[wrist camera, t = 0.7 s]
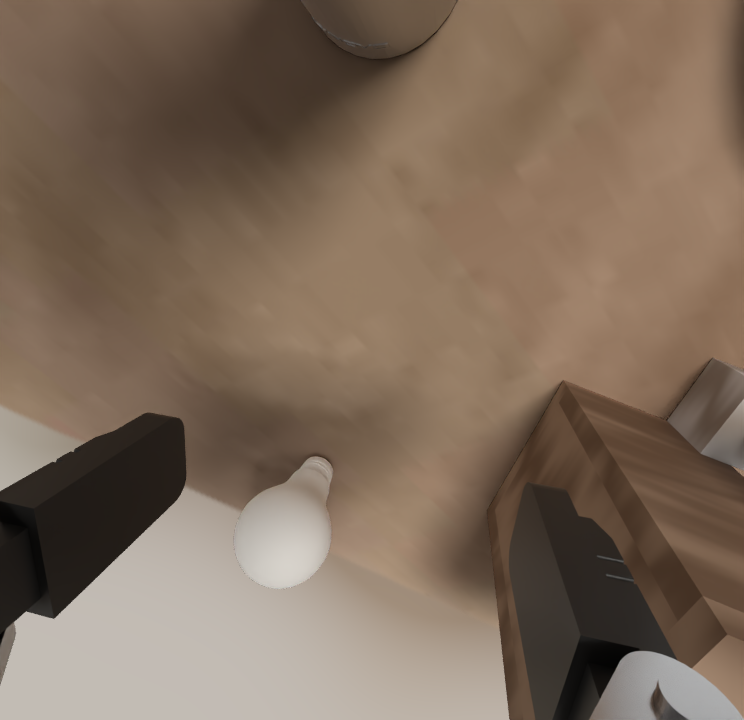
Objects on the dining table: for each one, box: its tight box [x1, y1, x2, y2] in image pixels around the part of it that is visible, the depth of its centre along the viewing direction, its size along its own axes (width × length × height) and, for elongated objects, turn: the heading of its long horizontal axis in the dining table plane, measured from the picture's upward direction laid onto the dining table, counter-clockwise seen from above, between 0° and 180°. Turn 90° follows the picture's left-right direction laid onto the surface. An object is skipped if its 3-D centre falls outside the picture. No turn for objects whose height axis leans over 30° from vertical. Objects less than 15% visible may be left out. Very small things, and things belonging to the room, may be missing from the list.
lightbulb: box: [234, 456, 333, 589], centre depth 29 cm, size 6×6×11 cm
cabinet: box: [487, 358, 744, 720], centre depth 20 cm, size 17×11×18 cm, turn 161°
